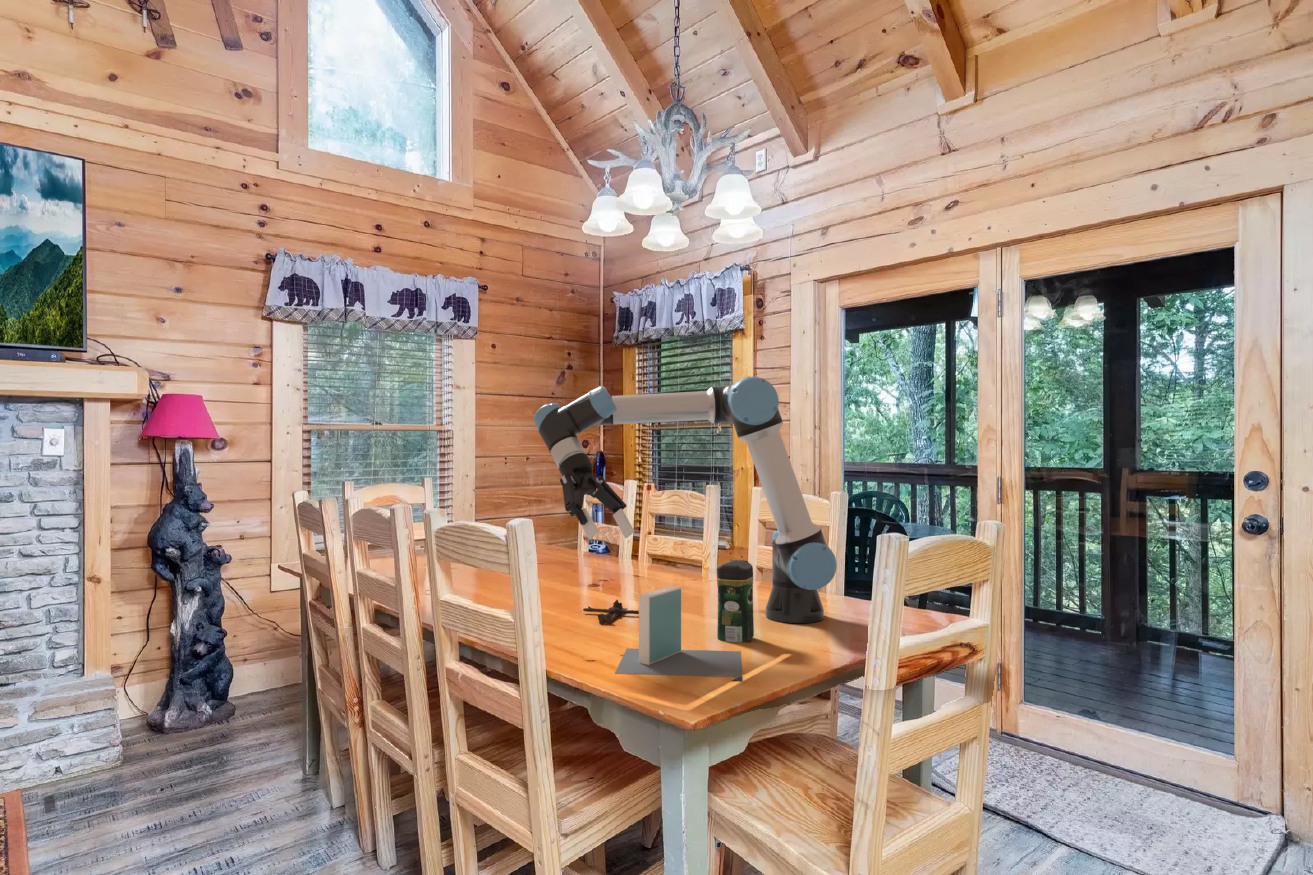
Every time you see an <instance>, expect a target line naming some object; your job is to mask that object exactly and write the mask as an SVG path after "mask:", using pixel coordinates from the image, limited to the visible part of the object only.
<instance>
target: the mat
mask: <svg viewBox="0 0 1313 875" xmlns="http://www.w3.org/2000/svg"><path fill="white" fill-rule="evenodd" d="M614 674H615V675H642V676H643V675H648V676H649V675H650V676H651V675H652V676H679V677H680V676H683V677H686V676H687V677H714V678H715V677H719V678H720V677H722V678H734V679H732V680H731V682H743V677H744V676H743V665H742V652H741V650H740V651H738V650H707V649H706V650H704V649H703V650H699V649H681V652H679V653H676V654H674V655H672V656H669V657H667V658H664V659H662V660H659V661H657V662H655V663H652V664H650V665H646V664H642V663H639V648H630V647H628V648H626V649H625V652H624V653H623V655H622V657H621V659H620V662H619V663H618V666H617V668H616V670H615V671H614Z"/></svg>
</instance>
